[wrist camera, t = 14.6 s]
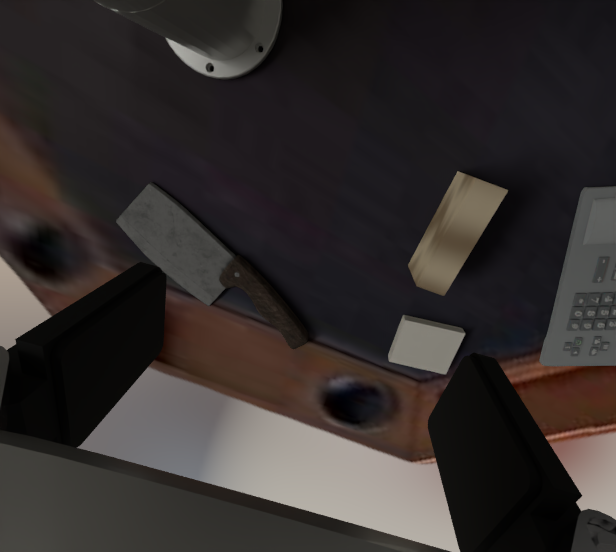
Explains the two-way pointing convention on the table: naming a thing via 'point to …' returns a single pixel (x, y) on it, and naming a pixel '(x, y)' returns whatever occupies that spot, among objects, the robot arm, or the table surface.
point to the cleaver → (201, 259)
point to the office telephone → (586, 288)
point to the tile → (425, 344)
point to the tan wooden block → (454, 231)
